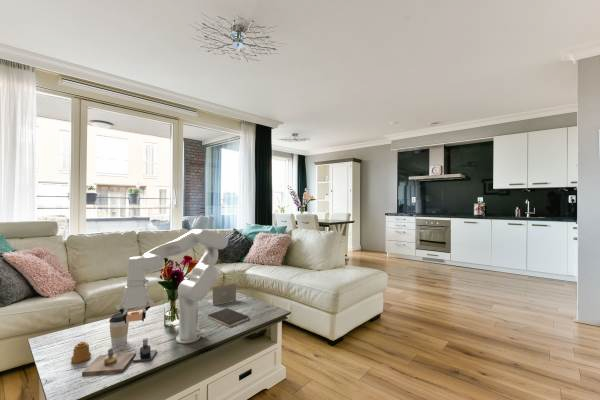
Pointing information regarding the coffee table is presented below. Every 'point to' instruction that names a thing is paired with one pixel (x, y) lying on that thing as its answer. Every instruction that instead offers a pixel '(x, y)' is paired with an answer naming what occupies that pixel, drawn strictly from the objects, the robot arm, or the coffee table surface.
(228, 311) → the hardcover book
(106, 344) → the coffee table surface
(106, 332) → the coffee table surface
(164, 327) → the coffee table surface
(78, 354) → the ornamental finial
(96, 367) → the toggle switch
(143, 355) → the stand
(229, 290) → the laptop
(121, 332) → the coffee cup
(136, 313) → the square peach frame
